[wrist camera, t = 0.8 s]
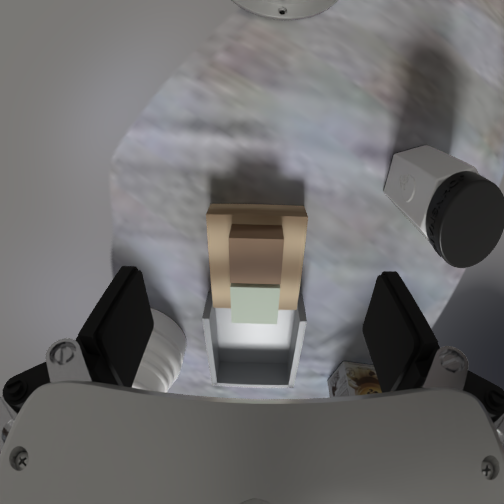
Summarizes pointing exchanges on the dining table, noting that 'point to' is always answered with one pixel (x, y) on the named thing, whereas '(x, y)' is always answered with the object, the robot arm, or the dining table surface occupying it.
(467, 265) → the jar
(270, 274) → the tile near
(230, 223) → the board
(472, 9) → the dining table surface
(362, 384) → the coffee box
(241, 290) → the tile far
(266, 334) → the tray
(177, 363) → the honey pot
